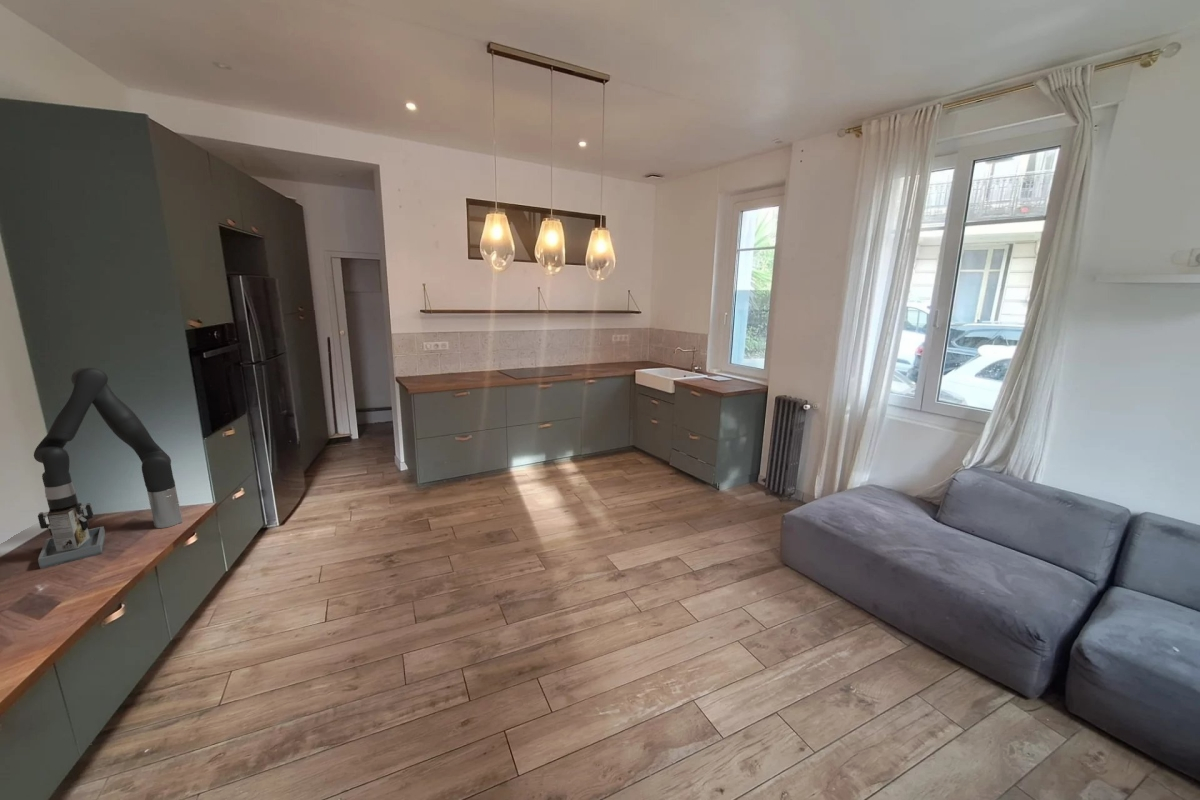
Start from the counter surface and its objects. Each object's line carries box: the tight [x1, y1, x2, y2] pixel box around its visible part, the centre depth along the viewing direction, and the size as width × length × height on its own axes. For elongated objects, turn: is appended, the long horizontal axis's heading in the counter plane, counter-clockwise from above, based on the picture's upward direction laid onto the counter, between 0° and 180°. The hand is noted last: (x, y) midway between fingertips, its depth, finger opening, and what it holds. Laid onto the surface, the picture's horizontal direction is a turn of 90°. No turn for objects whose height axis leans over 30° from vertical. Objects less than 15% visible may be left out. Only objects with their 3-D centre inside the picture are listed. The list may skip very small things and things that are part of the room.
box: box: [37, 526, 106, 570], centre depth 186 cm, size 16×20×4 cm
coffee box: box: [46, 502, 90, 552], centre depth 184 cm, size 9×6×16 cm
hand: (70, 532), depth 184 cm, fingers closed on coffee box, 7 cm apart
